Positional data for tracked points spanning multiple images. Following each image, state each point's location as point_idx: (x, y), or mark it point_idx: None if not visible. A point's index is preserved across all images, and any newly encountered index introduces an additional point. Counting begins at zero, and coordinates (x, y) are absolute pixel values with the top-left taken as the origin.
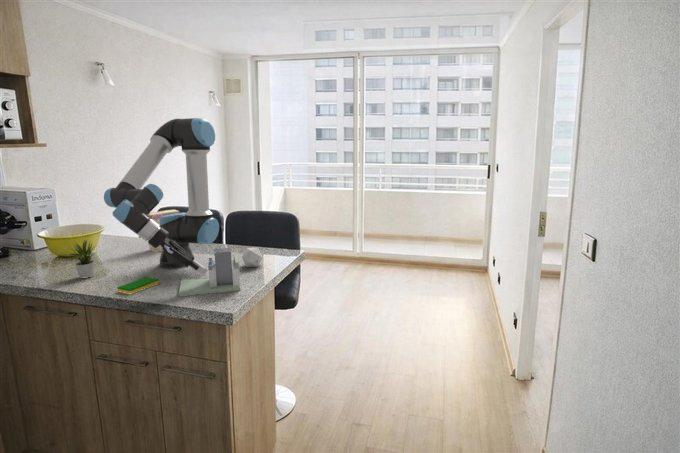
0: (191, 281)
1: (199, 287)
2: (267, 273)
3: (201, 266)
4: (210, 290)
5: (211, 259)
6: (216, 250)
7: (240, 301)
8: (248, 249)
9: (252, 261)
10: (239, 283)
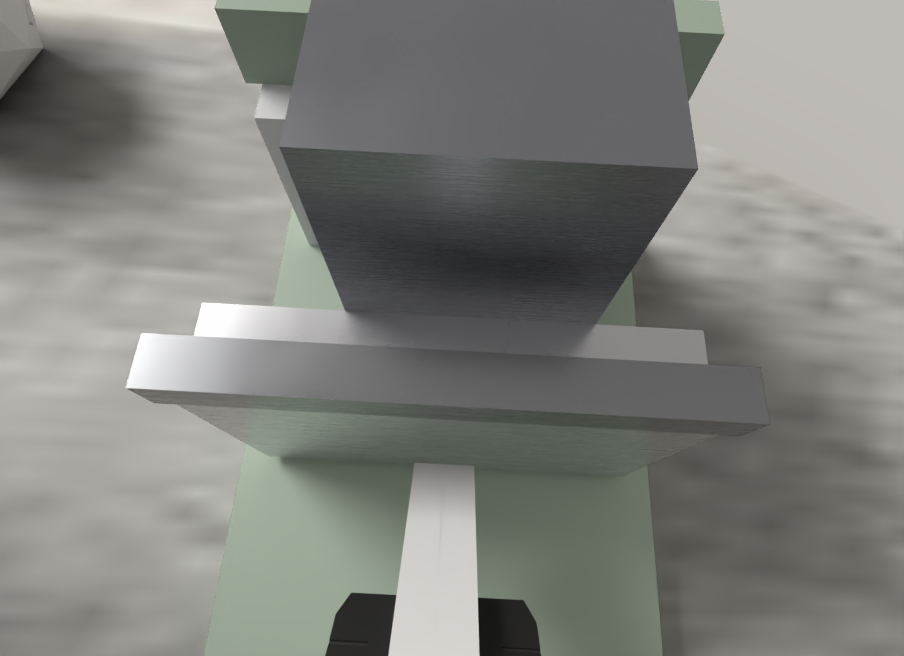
0: None
1: (549, 597)
2: None
3: (475, 550)
4: (645, 476)
5: (263, 346)
6: (470, 116)
7: (879, 255)
8: None
9: (25, 26)
10: None
